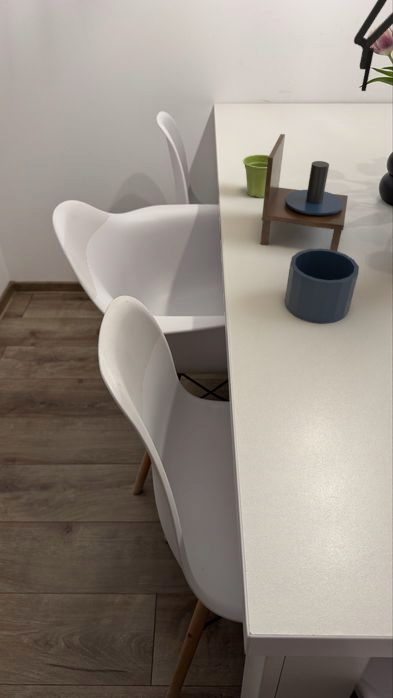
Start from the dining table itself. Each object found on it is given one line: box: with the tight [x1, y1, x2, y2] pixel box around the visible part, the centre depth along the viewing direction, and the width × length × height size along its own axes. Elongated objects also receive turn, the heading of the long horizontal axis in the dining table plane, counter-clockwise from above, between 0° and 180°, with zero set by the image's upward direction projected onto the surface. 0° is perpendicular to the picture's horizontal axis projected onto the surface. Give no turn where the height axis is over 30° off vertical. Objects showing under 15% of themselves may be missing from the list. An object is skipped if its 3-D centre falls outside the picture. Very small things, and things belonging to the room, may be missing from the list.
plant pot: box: [242, 154, 270, 199], centre depth 126 cm, size 9×9×9 cm
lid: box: [285, 160, 344, 215], centre depth 104 cm, size 13×13×9 cm
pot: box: [284, 247, 360, 324], centre depth 87 cm, size 12×12×8 cm
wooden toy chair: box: [260, 133, 349, 252], centre depth 105 cm, size 17×16×19 cm
